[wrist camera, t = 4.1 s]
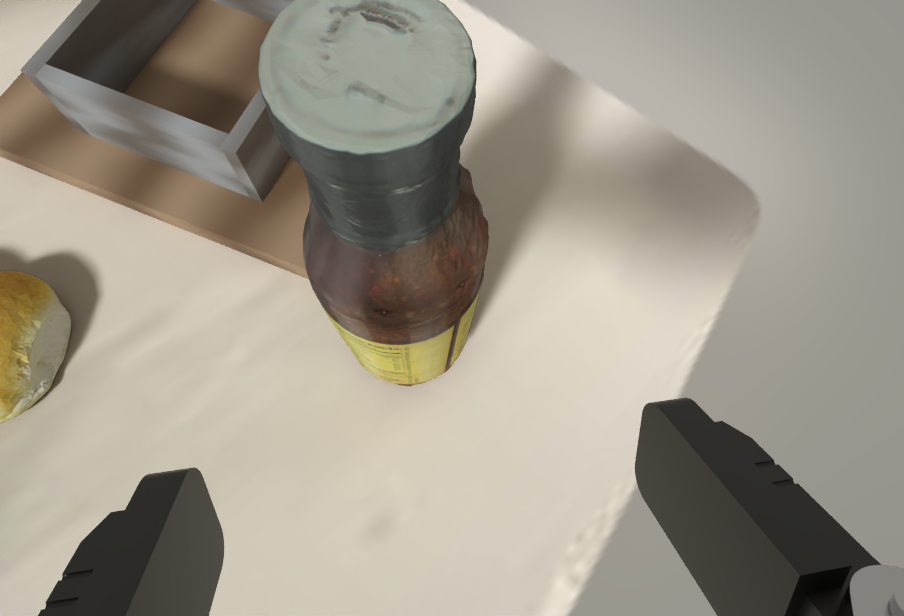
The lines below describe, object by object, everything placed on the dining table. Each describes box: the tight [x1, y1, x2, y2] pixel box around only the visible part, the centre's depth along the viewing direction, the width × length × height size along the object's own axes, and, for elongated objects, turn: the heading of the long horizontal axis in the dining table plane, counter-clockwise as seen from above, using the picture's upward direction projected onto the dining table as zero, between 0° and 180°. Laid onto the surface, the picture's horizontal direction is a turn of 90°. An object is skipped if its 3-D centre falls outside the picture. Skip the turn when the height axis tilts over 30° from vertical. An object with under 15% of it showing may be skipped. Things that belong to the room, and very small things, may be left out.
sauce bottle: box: [258, 0, 489, 386], centre depth 19 cm, size 6×6×20 cm
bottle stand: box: [0, 0, 310, 279], centre depth 29 cm, size 22×18×6 cm
